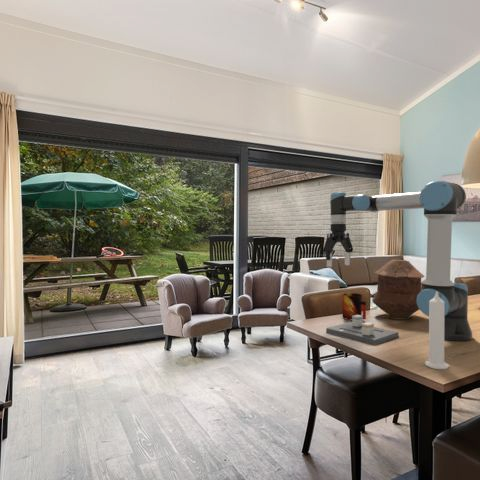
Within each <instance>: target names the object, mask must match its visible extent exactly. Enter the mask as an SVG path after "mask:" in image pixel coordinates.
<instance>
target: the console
mask: <svg viewBox="0 0 480 480" xmlns="http://www.w3.org/2000/svg"><path fill="white" fill-rule="evenodd" d="M325 331H326V332H325V333H327V334H331V335H333V336H334V335H335V336H339V337H343V338H346V339H350V340H353V341H357V342H362V343H366V344H370V345H374V346H376V345H378V344H383V343H384V342H388V341H390V340H393V339H396V338H399V331H394V330H390V329H385V328H382V327H375V326H374V334H372V335H369V336H368V335H363V334H362V326H359V327H356V326H352V321H348V322H346V323H345V322H344V323H341V324H337V325H332V326H329V327H327V328H326V329H325Z"/></svg>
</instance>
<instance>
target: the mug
mask: <svg viewBox="0 0 480 480" xmlns="http://www.w3.org/2000/svg"><path fill="white" fill-rule="evenodd" d="M362 295H363V294H360V293H351V292H350V293H348V292H347V293H342V298H341V299H342V308H341V309H342V314H341V316H342V317H341V318H343V319H345V318H346V320H350V319H352V316H354V315H361V316H363V320H366V319H367V312H366V301H363V299H362V297H363V296H362Z"/></svg>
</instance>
